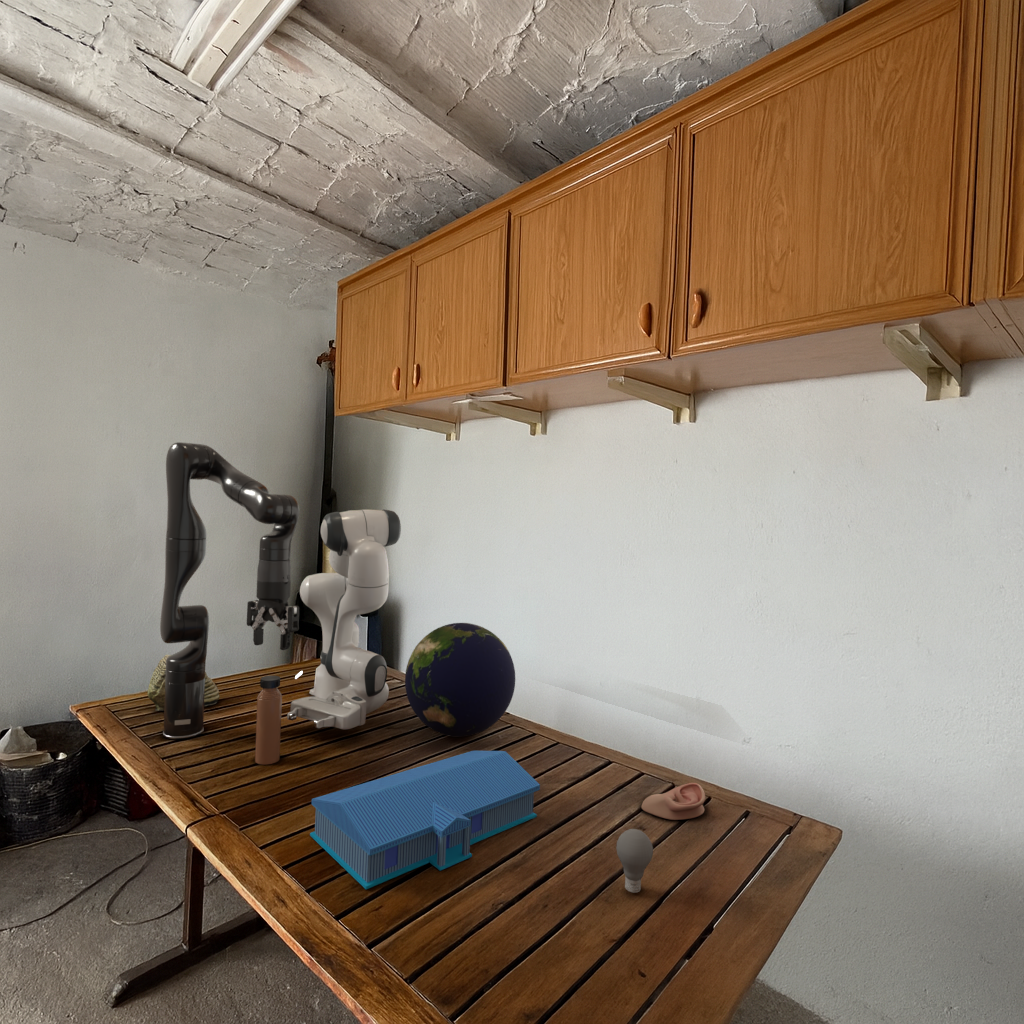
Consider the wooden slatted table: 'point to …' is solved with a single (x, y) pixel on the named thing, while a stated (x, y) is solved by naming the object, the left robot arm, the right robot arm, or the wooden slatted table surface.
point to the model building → (423, 815)
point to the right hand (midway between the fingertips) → (302, 720)
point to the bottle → (268, 726)
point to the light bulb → (634, 857)
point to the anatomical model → (677, 802)
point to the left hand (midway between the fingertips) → (271, 647)
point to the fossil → (158, 687)
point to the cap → (270, 682)
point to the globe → (460, 679)
